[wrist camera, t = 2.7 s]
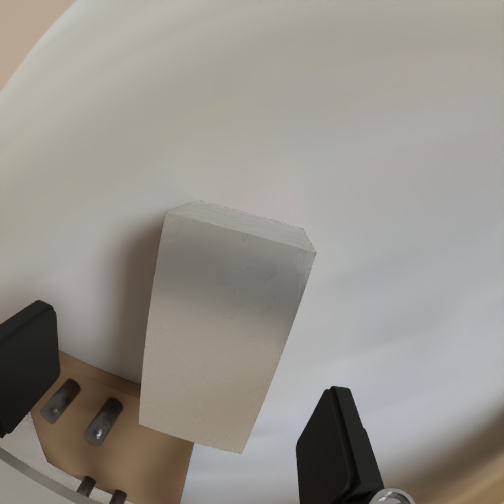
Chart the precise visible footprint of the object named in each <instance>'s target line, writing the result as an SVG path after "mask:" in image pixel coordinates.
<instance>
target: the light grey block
mask: <svg viewBox="0 0 504 504" xmlns="http://www.w3.org/2000/svg"><path fill="white" fill-rule="evenodd" d="M315 256H316V251H315V249H314V247H313V245H312V243H311V241H310V240H309V238H308V236H307V234H306V232H305V230H304V229H303V228H301V227H297V226H294V225H290V224H287V223H283V222H279V221H276V220H272V219H268V218H265V217H261V216H257V215H254V214H250V213H246V212H242V211H239V210H235V209H231V208H227V207H223V206H219V205H215V204H212V203H208V202H204V201H197V202H194V203H191V204H188V205H185V206H182V207H179V208H176V209H173V210H170V211H167V212H166V214H165V219H164V224H163V229H162V234H161V239H160V245H159V250H158V256H157V262H156V268H155V274H154V280H153V287H152V294H151V300H150V308H149V315H148V323H147V331H146V340H145V349H144V359H143V369H142V381H141V395H140V410H139V424H140V425H143V426H145V427H148V428H151V429H154V430H157V431H159V432H162V433H165V434H168V435H172V436H175V437H178V438H181V439H184V440H188V441H191V442H195V443H198V444H202V445H205V446H209V447H213V448H217V449H221V450H225V451H230V452H234V453H239V454H242V452H243V450H244V447H245V445H246V443H247V440H248V438H249V436H250V433H251V431H252V429H253V426H254V424H255V421H256V419H257V416H258V414H259V412H260V409H261V407H262V404H263V402H264V399H265V397H266V394H267V392H268V389H269V386H270V384H271V381H272V379H273V376H274V374H275V371H276V368H277V366H278V363H279V360H280V358H281V355H282V352H283V350H284V347H285V344H286V341H287V339H288V336H289V333H290V330H291V327H292V325H293V322H294V319H295V316H296V313H297V310H298V307H299V304H300V302H301V299H302V296H303V293H304V290H305V287H306V284H307V281H308V278H309V275H310V271H311V268H312V265H313V262H314V259H315Z"/></svg>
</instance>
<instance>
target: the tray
mask: <svg viewBox="0 0 504 504" xmlns="http://www.w3.org/2000/svg"><path fill="white" fill-rule="evenodd" d="M59 361H60V376H59V378H58V379H57V381H56V382H55V383H54V384H53V385H52V386H51V387H50V388H49V390H48V391H47V392H46V393H45V394H44V395H43V396H42V397H41V399H40V400H39V401H38V402H37V403H36V404H35V405H34V407H33V408H32V409H31V410H30V412H31V416H32V419H33V422H34V425H35V429H36V432H37V435H38V438H39V441H40V444H41V446H42V449H43V452H44V455H45V457H46V460H47V462H48V463H50V464H52V465H53V466H55V467H57V468H59V469H61V470H62V471H64V472H66V473H68V474H70V475H72V476H74V477H76V478H78V479H79V480H81V481H83V479H84V477H85V476H89V477H91V478H93V479H94V480H95V481H96V484H95V486H94V487H96V488H98V489H100V490H103V491H105V492H107V493H110V494H112V495H113V494H114V492H115V490H116V489H118V490H121V491H123V492H125V493H126V494H127V498H126V500H127V501H129V502H132V503H135V504H180V501H181V497H182V492H183V488H184V484H185V479H186V475H187V471H188V466H189V462H190V458H191V454H192V449H193V445H194V442H191V441H188V440H184V439H181V438H178V437H175V436H172V435H168V434H165V433H162V432H159V431H157V430H154V429H151V428H148V427H145V426H143V425H140V424H139V410H140V395H141V386H140V385H137V384H135V383H132V382H129V381H127V380H124V379H122V378H119V377H117V376H114V375H112V374H109V373H107V372H104V371H102V370H100V369H97V368H95V367H93V366H91V365H88V364H86V363H84V362H82V361H79V360H77V359H75V358H73V357H71V356H69V355H67V354H65V353H63V352H61V351H59ZM69 378H70V379H73V380H75V381H76V382H77V383H78V384H79V385H80V387H81V392H80V393H79V394H78V395H77V397H76V398H75V399H74V400H73V401H72V403H71V404H70V405H69V406H68V408H67V409H66V410H65V411H64V412H63V414H62V415H61V416H60V417H59V419H58V420H57V421H56V422H55V424H50V423H48V422H47V421H46V420H45V419H44V418H43V417H42V416H41V414H40V411H39V410H40V409H41V408H42V407H43V405H44V404H45V403H46V402H47V401H48V400H49V399H50V398H51V397H52V395H53V394H54V393H55V392H56V391H57V390H58V389H59V388H60V387H61V386H62V385H63V383H64V382H65V381H66V380H67V379H69ZM110 397H112V398H116V399H117V400H119V401H120V402H121V403H122V405H123V410H122V412H121V414H120V415H119V417H118V419H117V420H116V422H115V423H114V425H113V427H112V428H111V430H110V432H109V433H108V435H107V437H106V438H105V440H104V442H103V443H102V445H101V446H100V447H95V446H93V445H91V444H89V443H88V442H87V441H86V440H85V439H84V437H83V433H84V432H85V430H86V429H87V427H88V426H89V425H90V423H91V422H92V420H93V419H94V417H95V416H96V414H97V413H98V412H99V410H100V409H101V407H102V406H103V404H104V403H105V402H106V400H107V399H108V398H110Z"/></svg>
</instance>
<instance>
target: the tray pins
mask: <svg viewBox="0 0 504 504" xmlns="http://www.w3.org/2000/svg"><path fill="white" fill-rule="evenodd" d="M80 392H81V387H80V385H79V384H78V383H77V382H76V381H75V380H73V379H70V378H69V379H67V380H66V381H65V382H64V383H63V385H62V386H61V387H60V388H59V389H58V390H57V391H56V392H55V393H54V394H53V395H52V397H51V398H50V399H49V400H48V401H47V402H46V403H45V404H44V405H43V407H42V408H41V409H40V410H39V411H40V414H41V416H42V417H43V418H44V419H45V420H46V421H47V422H48V423H50V424H55V422H56V421H57V420H58V419H59V417H60V416H61V415H62V414H63V412H64V411H65V410H66V409H67V408H68V406H69V405H70V404H71V403H72V401H73V400H74V399H75V398H76V397H77V395H78V394H79V393H80ZM122 410H123V405H122V403H121V402H120V401H119V400H117V399H116V398H112V397H110V398H108V399H107V400H106V402H105V403H104V404H103V406H102V407H101V409H100V410H99V412H98V413H97V414H96V416H95V417H94V419H93V420H92V422H91V423H90V425H89V426H88V427H87V429H86V430H85V432H84V433H83V437H84V439H85V440H86V441H87V442H88V443H89V444H91V445H93V446H95V447H100V446H101V445H102V443H103V442H104V440H105V438H106V437H107V435H108V433H109V432H110V430H111V428H112V427H113V425H114V423H115V422H116V420H117V419H118V417H119V415H120V414H121V412H122ZM95 484H96V481H95V480H94V479H93V478H91V477H89V476H85V477H84V479H83V481H82V483H81V484H80V486H79V488H78V489H77V491H76V492H77V493H79V494H82V495H84V496H86V497H89V495H90V493H91V492H92V490H93V488H94V486H95ZM126 498H127V494H126V493H125V492H123V491H121V490H118V489H116V490H115V492H114V494H113V496H112V498H111V501H110V503H109V504H124V502H125V500H126Z"/></svg>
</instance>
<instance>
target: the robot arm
mask: <svg viewBox="0 0 504 504" xmlns="http://www.w3.org/2000/svg"><path fill="white" fill-rule="evenodd" d="M59 376H60V361H59V350H58V337H57V317H56V312H55V311H54V309H53V306H51V305H50V304H47V303H45V302H43V301H41V300H37V301H35V302H34V303H32V304H31V305H29V306H27V307H26V308H24V309H23V310H21V311H20V312H18V313H17V314H15V315H14V316H12V317H11V318H9V319H8V320H6V321H5V322H3V323H2V324H0V438H3V437H4V436H5V435H6V433H7V434H10V433H11V432H12V431H13V430H14V429H15V428H16V426H17V425H18V424H19V423H20V422H21V421H22V419H23V418H24V417H25V416H26V415H27V414H28V412H29V411H30V410H31V409H32V408H33V407H34V405H35V404H36V403H37V402H38V401H39V400H40V399H41V397H42V396H43V395H44V394H45V393H46V392H47V391H48V390H49V388H50V387H51V386H52V385H53V384H54V383H55V382H56V381H57V379H58V378H59ZM296 458H297V471H298V484H299V499H300V504H415V502H414V500H413V499H412V498H411V496H410V495H409V494H407V493H406V492H404V491H402V490H400V489H396V488H387V489H385V488H384V485H383V482H382V478H381V475H380V472H379V469H378V466H377V462H376V459H375V456H374V453H373V450H372V447H371V444H370V441H369V438H368V435H367V432H366V430H365V429H364V428H363V426H362V423H361V420H360V417H359V414H358V411H357V408H356V405H355V402H354V399H353V396H352V393H351V391H350V389H349V388H344V387H337V386H332V387H331V388H330V389H329V390H328V389H326V390H325V391H324V392H323V394H322V396H321V398H320V400H319V402H318V404H317V406H316V408H315V410H314V412H313V414H312V416H311V418H310V419H309V421H308V423H307V425H306V427H305V429H304V430H303V432H302V434H301V436H300V438H299V439H298V442H297V445H296ZM0 504H102V503H99V502H97V501H95V500H93V499H90V498H88V497H86V496H84V495H82V494H79V493H77V492H75V491H73V490H71V489H69V488H67V487H65V486H63V485H61V484H60V483H58V482H56V481H54V480H52V479H50V478H49V477H47V476H45V475H43V474H41V473H40V472H38V471H36V470H35V469H33V468H31V467H30V466H28V465H27V464H25V463H23V462H22V461H20V460H19V459H17V458H16V457H14V456H13V455H11V454H10V453H8V452H7V451H5V450H4V449H2V448H1V447H0Z"/></svg>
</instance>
